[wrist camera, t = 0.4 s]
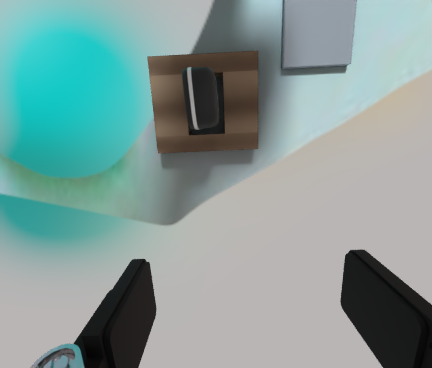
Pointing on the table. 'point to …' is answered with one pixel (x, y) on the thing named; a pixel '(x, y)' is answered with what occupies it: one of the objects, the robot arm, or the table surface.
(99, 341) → the robot arm
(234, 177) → the table surface
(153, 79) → the holder
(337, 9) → the tile
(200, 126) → the battery charger
